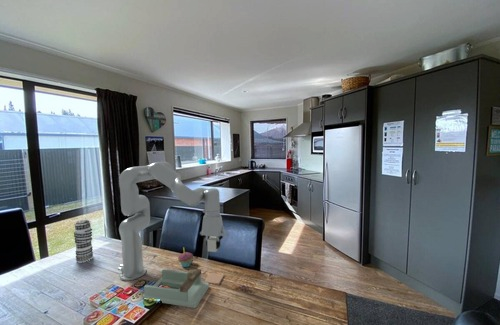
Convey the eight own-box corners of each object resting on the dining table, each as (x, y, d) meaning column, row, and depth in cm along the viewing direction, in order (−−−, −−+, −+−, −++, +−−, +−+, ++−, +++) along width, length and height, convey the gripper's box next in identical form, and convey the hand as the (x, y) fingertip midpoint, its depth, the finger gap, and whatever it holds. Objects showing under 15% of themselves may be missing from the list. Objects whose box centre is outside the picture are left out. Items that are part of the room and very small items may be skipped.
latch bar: (180, 291, 90) (179, 280, 90) (195, 272, 104) (195, 262, 104) (186, 292, 89) (186, 281, 89) (201, 273, 103) (200, 263, 103)
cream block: (207, 251, 107) (207, 239, 106) (211, 247, 111) (210, 236, 111) (215, 252, 106) (215, 240, 105) (219, 248, 110) (218, 236, 110)
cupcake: (188, 269, 119) (188, 249, 118) (175, 268, 120) (174, 248, 120) (195, 261, 127) (195, 242, 127) (183, 260, 129) (182, 241, 128)
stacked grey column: (92, 254, 139) (90, 217, 137) (94, 259, 132) (92, 220, 131) (75, 259, 132) (72, 220, 131) (75, 265, 126) (73, 224, 124)
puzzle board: (142, 300, 94) (142, 286, 94) (162, 281, 108) (161, 269, 108) (195, 308, 89) (195, 293, 89) (208, 287, 103) (208, 274, 102)
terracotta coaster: (203, 283, 106) (203, 281, 106) (210, 274, 114) (210, 272, 114) (218, 285, 105) (218, 283, 105) (224, 275, 112) (224, 274, 112)
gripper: (194, 214, 106) (195, 249, 107) (225, 215, 102) (226, 252, 103) (200, 210, 113) (201, 243, 114) (230, 211, 109) (231, 245, 110)
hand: (213, 247), depth 108 cm, fingers closed on cream block, 4 cm apart
